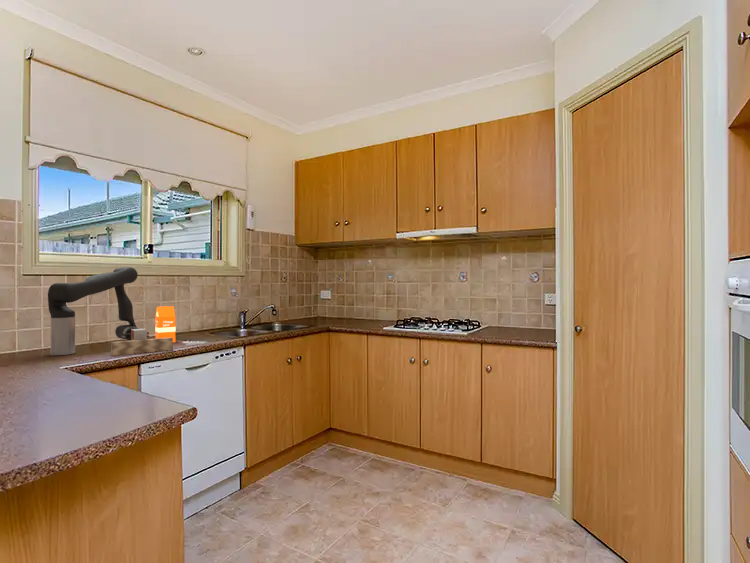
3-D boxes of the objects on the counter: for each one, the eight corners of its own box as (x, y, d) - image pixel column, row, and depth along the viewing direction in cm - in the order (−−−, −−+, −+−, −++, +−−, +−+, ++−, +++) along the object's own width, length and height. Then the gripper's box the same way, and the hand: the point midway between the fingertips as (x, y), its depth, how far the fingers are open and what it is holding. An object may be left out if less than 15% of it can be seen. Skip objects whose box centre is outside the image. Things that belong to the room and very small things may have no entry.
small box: (131, 350, 209) (130, 329, 209) (143, 349, 213) (143, 328, 213) (134, 352, 203) (133, 330, 203) (147, 351, 207) (146, 329, 206)
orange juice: (155, 341, 238) (155, 306, 238) (172, 340, 244) (172, 305, 244) (158, 343, 232) (158, 307, 232) (175, 342, 238) (175, 306, 238)
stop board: (111, 355, 194) (111, 342, 194) (110, 354, 197) (110, 342, 197) (172, 350, 211) (172, 337, 211) (171, 349, 213) (171, 337, 213)
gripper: (117, 327, 221) (124, 330, 207) (146, 326, 229) (153, 328, 216) (118, 342, 221) (124, 346, 207) (146, 339, 229) (153, 343, 216)
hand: (139, 337), depth 211 cm, fingers closed
